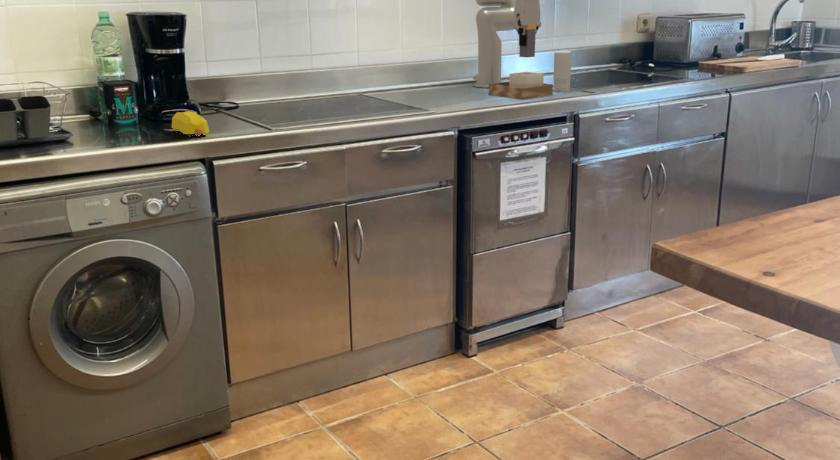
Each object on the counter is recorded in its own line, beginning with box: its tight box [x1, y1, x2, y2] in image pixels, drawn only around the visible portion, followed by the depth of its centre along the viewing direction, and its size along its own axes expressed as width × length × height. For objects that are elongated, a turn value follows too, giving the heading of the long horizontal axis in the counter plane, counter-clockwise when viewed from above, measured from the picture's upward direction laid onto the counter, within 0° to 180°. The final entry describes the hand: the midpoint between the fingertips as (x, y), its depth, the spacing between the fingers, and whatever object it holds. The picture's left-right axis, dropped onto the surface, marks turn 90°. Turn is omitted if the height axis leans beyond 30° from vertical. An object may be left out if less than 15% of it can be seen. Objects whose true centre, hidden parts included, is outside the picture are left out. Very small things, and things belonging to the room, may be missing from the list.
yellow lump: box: [171, 110, 210, 135], centre depth 248 cm, size 18×7×8 cm
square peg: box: [518, 23, 536, 58], centre depth 304 cm, size 4×4×12 cm
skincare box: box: [553, 50, 572, 93], centre depth 319 cm, size 8×7×16 cm
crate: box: [488, 81, 554, 101], centre depth 310 cm, size 18×16×5 cm
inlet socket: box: [508, 71, 545, 88], centre depth 309 cm, size 9×9×8 cm
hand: (527, 45), depth 304 cm, fingers closed on square peg, 4 cm apart
